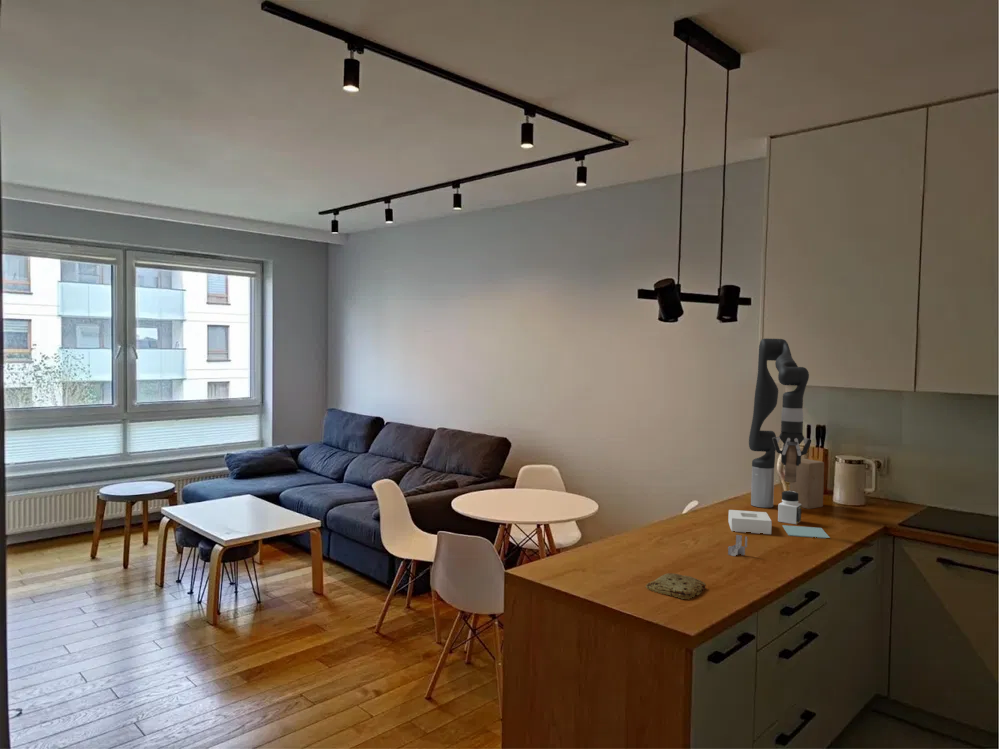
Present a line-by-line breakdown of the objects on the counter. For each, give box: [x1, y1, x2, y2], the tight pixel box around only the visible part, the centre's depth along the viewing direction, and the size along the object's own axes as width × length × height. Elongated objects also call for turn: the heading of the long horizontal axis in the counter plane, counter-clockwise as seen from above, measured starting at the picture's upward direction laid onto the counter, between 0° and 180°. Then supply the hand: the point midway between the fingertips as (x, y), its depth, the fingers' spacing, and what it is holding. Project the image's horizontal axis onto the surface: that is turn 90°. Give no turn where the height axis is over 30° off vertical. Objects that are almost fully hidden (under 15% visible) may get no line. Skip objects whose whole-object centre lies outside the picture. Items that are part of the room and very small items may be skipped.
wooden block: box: [789, 458, 825, 510], centre depth 296 cm, size 10×10×20 cm
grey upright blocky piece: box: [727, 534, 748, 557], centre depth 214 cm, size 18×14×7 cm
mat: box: [781, 524, 831, 539], centre depth 252 cm, size 14×14×1 cm
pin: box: [784, 441, 798, 483], centre depth 252 cm, size 5×5×15 cm
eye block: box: [727, 509, 773, 535], centre depth 256 cm, size 14×14×5 cm
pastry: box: [644, 572, 707, 600], centre depth 190 cm, size 17×17×3 cm
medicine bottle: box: [777, 490, 802, 525], centre depth 268 cm, size 7×7×12 cm
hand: (790, 464), depth 252 cm, fingers closed on pin, 4 cm apart
